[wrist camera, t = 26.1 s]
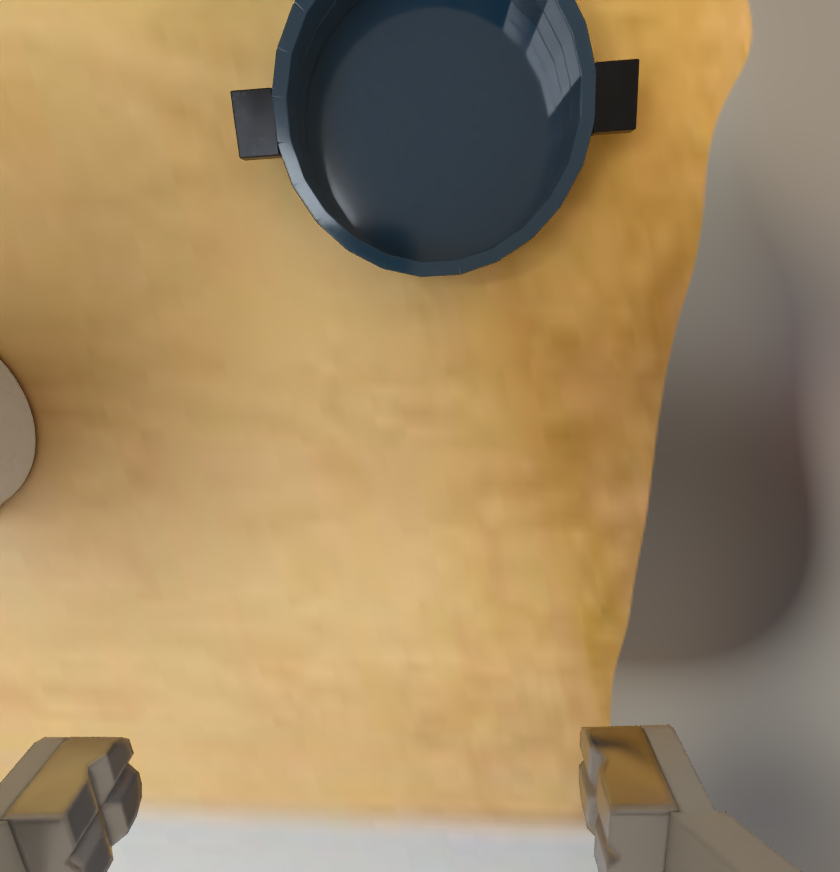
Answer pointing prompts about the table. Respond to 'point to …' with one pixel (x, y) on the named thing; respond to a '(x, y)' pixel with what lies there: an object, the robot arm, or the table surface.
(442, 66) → the pot
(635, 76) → the pot ear handles
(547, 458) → the table surface
